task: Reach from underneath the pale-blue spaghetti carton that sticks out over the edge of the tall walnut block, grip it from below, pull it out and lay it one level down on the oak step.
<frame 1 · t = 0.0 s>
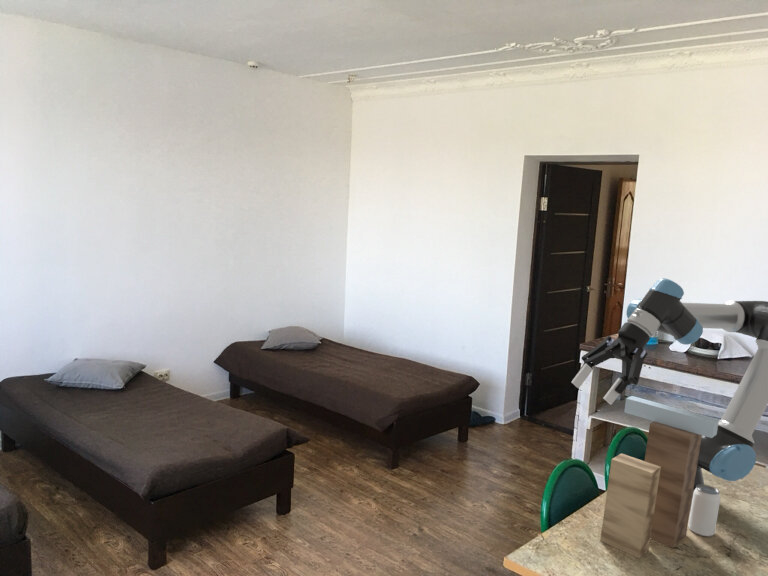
hand: (590, 393, 163), 36 cm above the table, tool tilted 35°, fingers open, 13 cm apart
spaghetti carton: (668, 423, 162), point 30 cm above the table, touching walnut block
walnut block: (660, 533, 165), on the table
oak step: (624, 545, 158), on the table
can: (700, 531, 168), on the table
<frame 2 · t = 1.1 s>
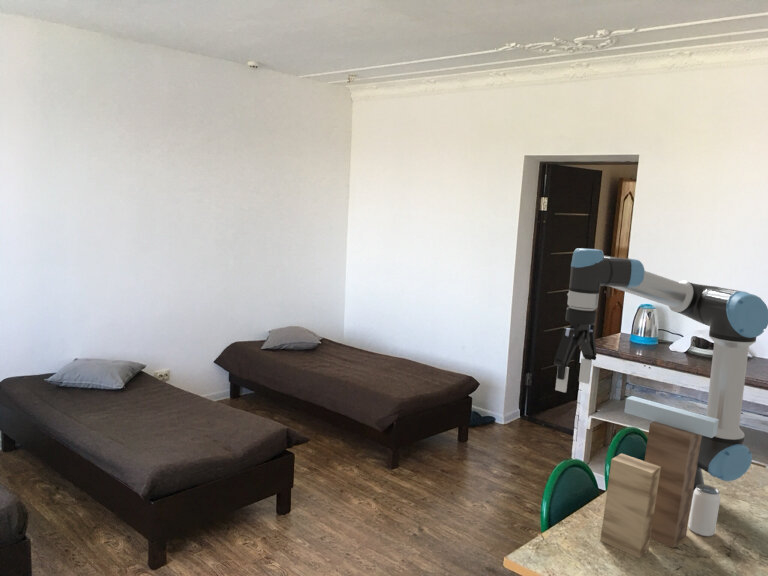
hand: (572, 386, 165), 37 cm above the table, tool pointing down, fingers open, 13 cm apart
nothing on the table moved.
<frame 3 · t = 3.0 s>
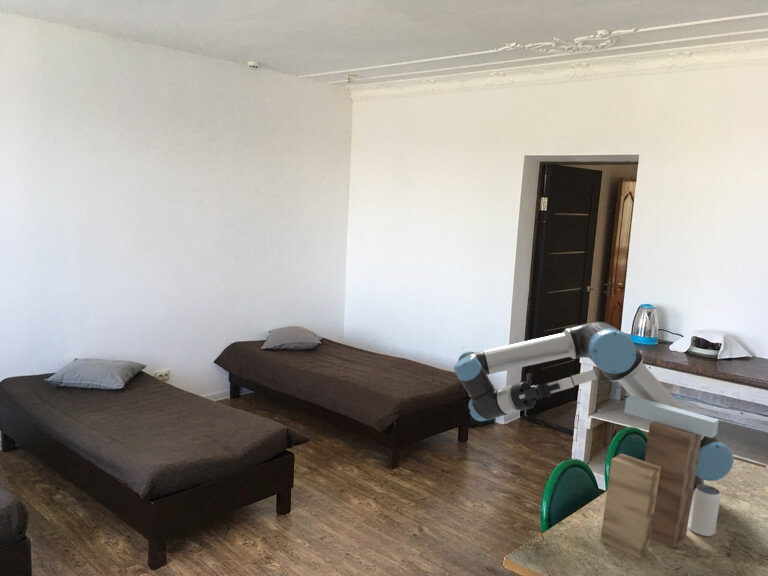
hand: (583, 378, 162), 40 cm above the table, tool pointing upward, fingers open, 13 cm apart
nothing on the table moved.
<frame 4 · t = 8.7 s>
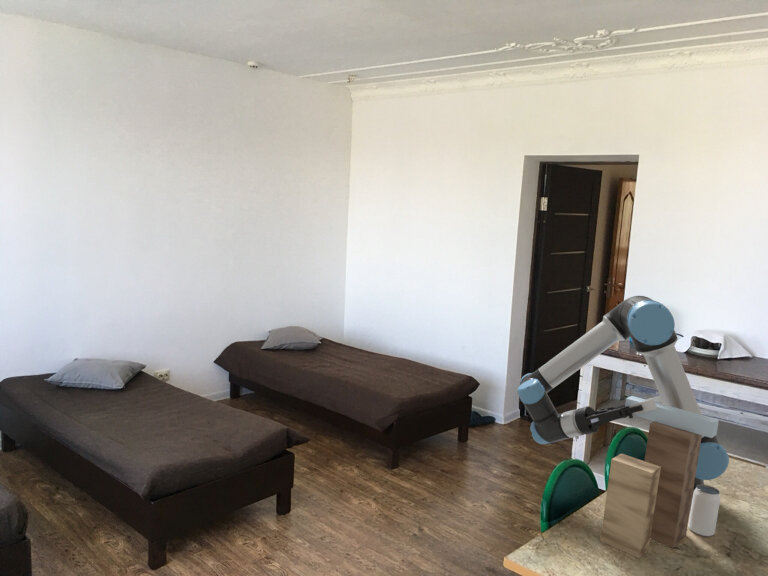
hand: (658, 402, 164), 35 cm above the table, tool pointing upward, fingers closed on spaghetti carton, 4 cm apart
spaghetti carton: (668, 423, 162), point 30 cm above the table, touching gripper, walnut block
everything else where it was.
when the fingers open (28 cm above the table, at t = 13.7 s): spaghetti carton stays where it is, resting on oak step.
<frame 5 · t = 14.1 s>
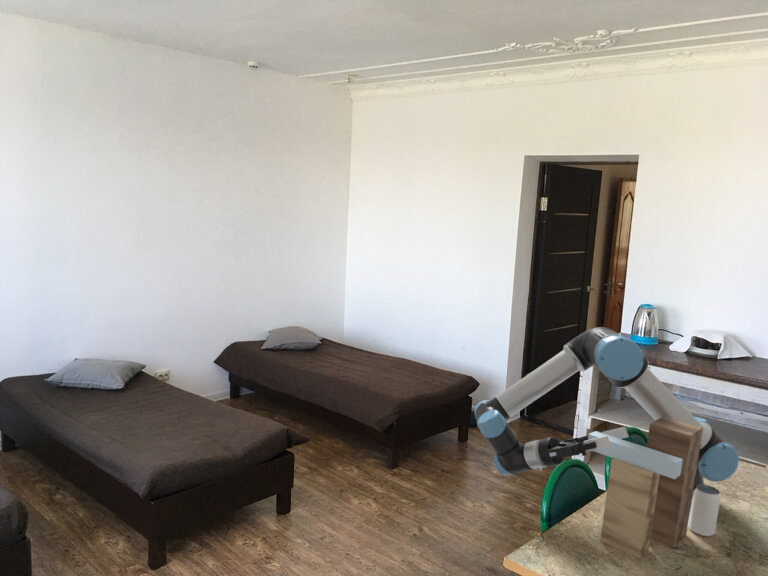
hand: (617, 436, 158), 27 cm above the table, tool pointing upward, fingers open, 10 cm apart
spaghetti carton: (631, 461, 155), point 22 cm above the table, touching oak step
everything else where it was.
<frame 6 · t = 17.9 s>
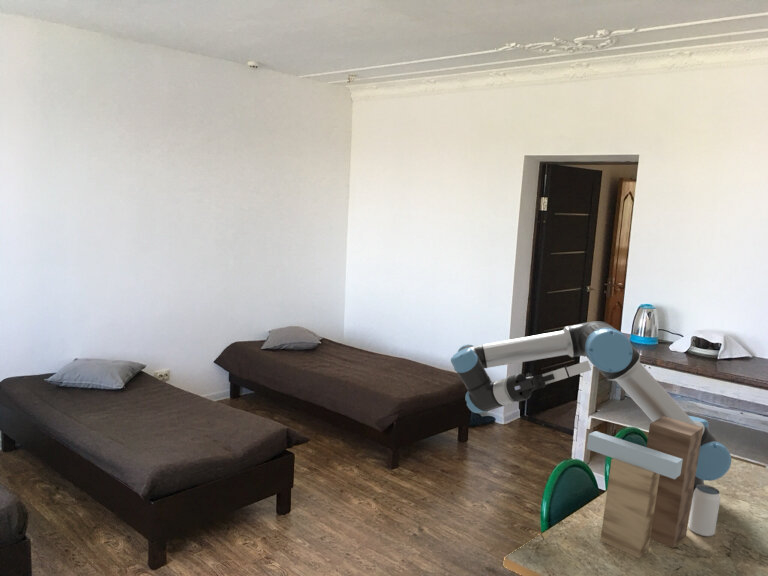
hand: (577, 368, 164), 42 cm above the table, tool pointing upward, fingers open, 13 cm apart
nothing on the table moved.
at the end: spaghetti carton inside the target area (0.4 cm from its centre), point 22.0 cm above the table; the gripper is holding nothing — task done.
